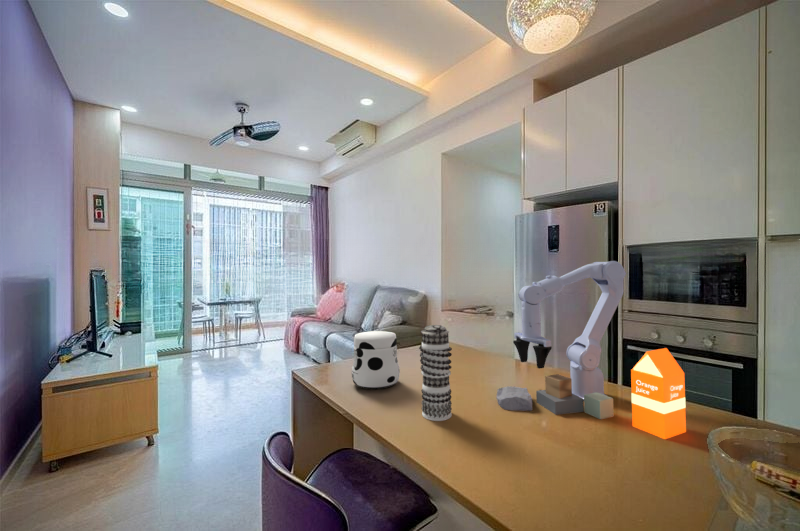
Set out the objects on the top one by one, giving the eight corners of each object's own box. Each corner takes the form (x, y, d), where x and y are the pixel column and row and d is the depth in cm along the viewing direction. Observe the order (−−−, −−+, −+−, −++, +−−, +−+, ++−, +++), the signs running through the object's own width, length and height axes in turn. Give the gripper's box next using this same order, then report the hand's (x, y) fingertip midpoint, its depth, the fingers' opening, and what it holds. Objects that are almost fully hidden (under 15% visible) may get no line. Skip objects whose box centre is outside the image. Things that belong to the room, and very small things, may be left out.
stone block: (501, 416, 98) (536, 411, 96) (497, 400, 98) (532, 394, 97) (496, 402, 110) (528, 397, 108) (493, 387, 110) (524, 382, 108)
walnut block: (557, 390, 103) (557, 374, 103) (571, 395, 99) (571, 378, 99) (545, 393, 101) (545, 376, 101) (559, 398, 96) (559, 381, 97)
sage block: (597, 409, 97) (596, 392, 97) (613, 416, 93) (613, 398, 93) (584, 412, 96) (584, 394, 96) (600, 419, 91) (599, 401, 91)
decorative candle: (440, 425, 89) (438, 330, 89) (413, 415, 95) (412, 326, 96) (459, 413, 96) (457, 325, 96) (433, 405, 102) (431, 322, 102)
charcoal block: (562, 401, 105) (562, 388, 105) (583, 413, 96) (583, 398, 96) (536, 403, 103) (536, 390, 103) (555, 416, 94) (555, 401, 94)
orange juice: (631, 426, 87) (629, 348, 87) (652, 419, 90) (650, 344, 91) (665, 439, 80) (663, 355, 80) (687, 432, 83) (684, 351, 83)
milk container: (408, 381, 124) (407, 332, 124) (381, 397, 110) (380, 341, 110) (371, 374, 133) (370, 329, 134) (341, 387, 119) (340, 336, 119)
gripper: (506, 320, 114) (507, 360, 114) (537, 327, 101) (538, 372, 101) (523, 319, 117) (524, 358, 117) (555, 325, 103) (556, 369, 103)
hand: (532, 364), depth 109 cm, fingers open, 7 cm apart
